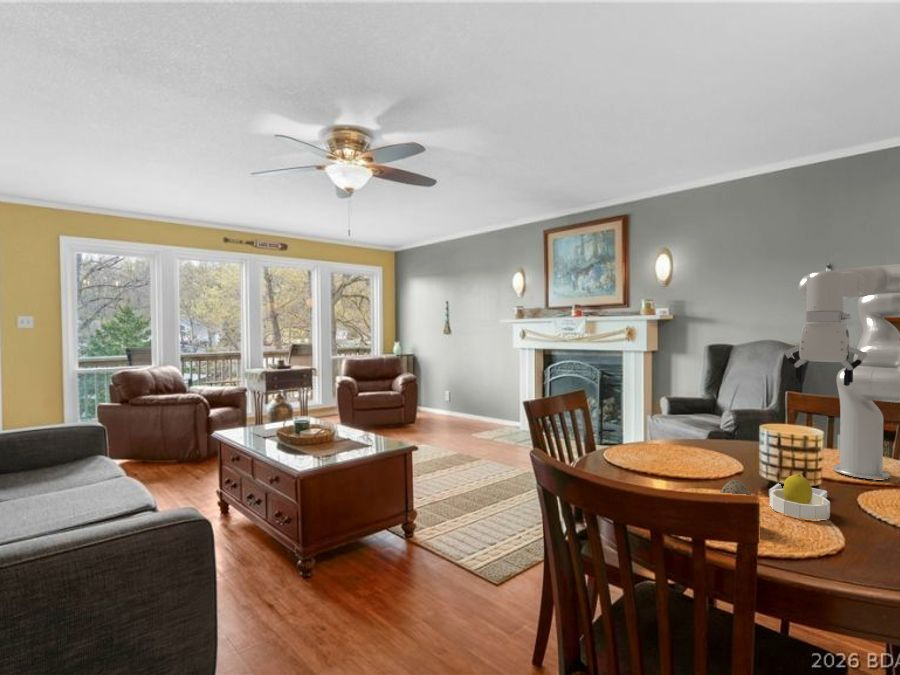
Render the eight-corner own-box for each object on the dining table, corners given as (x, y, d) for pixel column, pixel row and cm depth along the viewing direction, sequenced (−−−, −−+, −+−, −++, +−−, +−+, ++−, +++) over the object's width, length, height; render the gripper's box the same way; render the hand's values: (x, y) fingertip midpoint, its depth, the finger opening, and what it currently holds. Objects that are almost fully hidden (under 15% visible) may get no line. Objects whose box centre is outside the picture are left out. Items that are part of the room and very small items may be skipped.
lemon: (817, 513, 108) (817, 478, 108) (790, 511, 109) (790, 477, 109) (804, 504, 114) (804, 471, 114) (778, 502, 115) (778, 469, 115)
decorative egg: (713, 525, 104) (713, 479, 104) (722, 515, 109) (722, 472, 109) (750, 534, 99) (751, 487, 99) (758, 524, 104) (758, 479, 104)
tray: (780, 487, 128) (780, 481, 128) (827, 496, 121) (827, 491, 121) (768, 495, 122) (768, 489, 122) (817, 506, 114) (817, 500, 114)
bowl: (778, 499, 119) (778, 485, 119) (833, 512, 111) (834, 497, 111) (764, 510, 112) (764, 496, 112) (822, 525, 104) (822, 509, 103)
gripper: (870, 318, 120) (869, 385, 121) (789, 319, 134) (788, 379, 134) (864, 317, 116) (863, 388, 116) (780, 319, 129) (780, 382, 129)
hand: (823, 383), depth 125 cm, fingers open, 9 cm apart
